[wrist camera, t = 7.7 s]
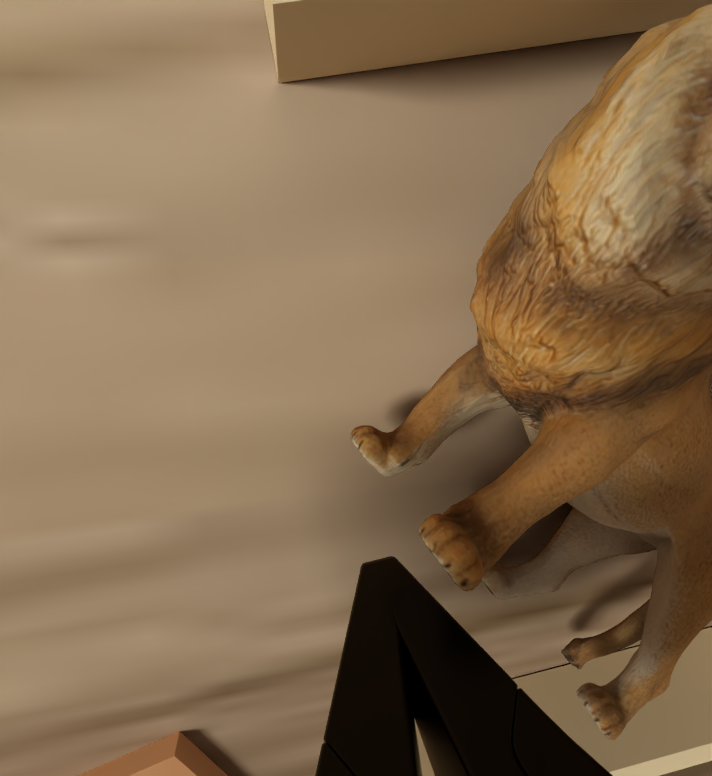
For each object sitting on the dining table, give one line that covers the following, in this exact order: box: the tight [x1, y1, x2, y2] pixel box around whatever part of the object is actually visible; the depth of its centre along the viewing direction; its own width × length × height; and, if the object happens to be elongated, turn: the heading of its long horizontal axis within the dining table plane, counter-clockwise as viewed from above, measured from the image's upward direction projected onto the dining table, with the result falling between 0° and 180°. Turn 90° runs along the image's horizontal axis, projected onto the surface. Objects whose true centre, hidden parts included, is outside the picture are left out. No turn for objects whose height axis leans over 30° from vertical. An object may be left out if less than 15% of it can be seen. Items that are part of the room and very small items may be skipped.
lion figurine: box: [350, 4, 712, 740], centre depth 9 cm, size 15×5×9 cm
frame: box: [264, 0, 712, 776], centre depth 10 cm, size 20×14×3 cm
